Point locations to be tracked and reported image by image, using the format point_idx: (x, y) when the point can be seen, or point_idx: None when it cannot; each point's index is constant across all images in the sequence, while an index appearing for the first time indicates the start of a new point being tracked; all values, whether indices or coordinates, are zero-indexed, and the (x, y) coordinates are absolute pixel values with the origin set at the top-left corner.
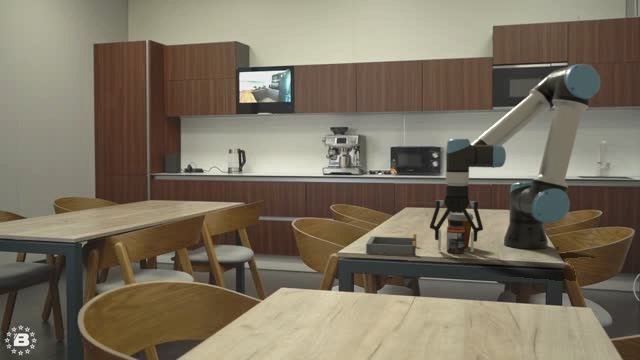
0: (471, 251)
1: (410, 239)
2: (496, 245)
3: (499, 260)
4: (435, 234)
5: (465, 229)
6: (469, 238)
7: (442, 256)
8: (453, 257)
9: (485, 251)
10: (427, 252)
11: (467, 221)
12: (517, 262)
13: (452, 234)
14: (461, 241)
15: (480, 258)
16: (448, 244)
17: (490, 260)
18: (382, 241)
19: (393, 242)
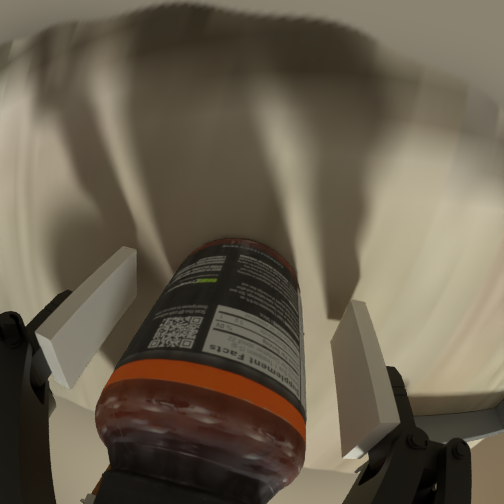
0: (133, 249)
1: None
2: (68, 395)
3: (43, 58)
4: (407, 403)
5: None
6: None
7: (384, 149)
8: (308, 102)
9: None
10: (421, 300)
11: None
12: (5, 42)
13: (267, 358)
14: (178, 290)
15: (114, 86)
16: (299, 312)
17: (81, 38)
18: (485, 420)
19: (460, 423)
